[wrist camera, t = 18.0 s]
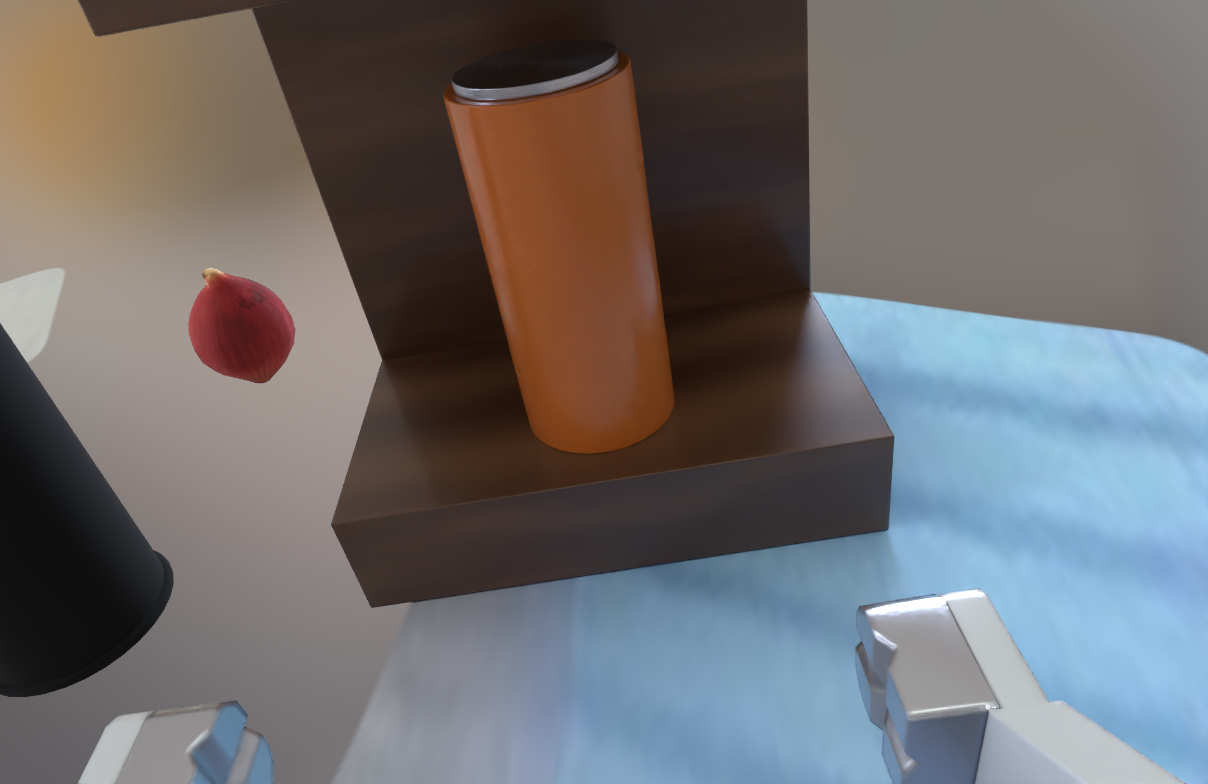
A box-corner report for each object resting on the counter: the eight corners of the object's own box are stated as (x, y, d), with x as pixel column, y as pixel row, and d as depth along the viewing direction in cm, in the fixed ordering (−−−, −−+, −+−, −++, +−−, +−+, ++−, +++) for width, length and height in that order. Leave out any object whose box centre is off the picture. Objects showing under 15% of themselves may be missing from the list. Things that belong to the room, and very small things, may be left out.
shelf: (888, 530, 34) (934, -189, 20) (370, 608, 35) (64, -25, 21) (806, 361, 44) (798, -183, 30) (412, 424, 45) (228, -75, 31)
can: (700, 379, 36) (663, 33, 28) (627, 470, 32) (558, 93, 23) (580, 354, 39) (514, 37, 31) (499, 433, 35) (399, 91, 27)
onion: (298, 344, 55) (251, 236, 51) (322, 379, 51) (273, 264, 46) (211, 380, 53) (154, 270, 48) (229, 419, 49) (168, 303, 44)
